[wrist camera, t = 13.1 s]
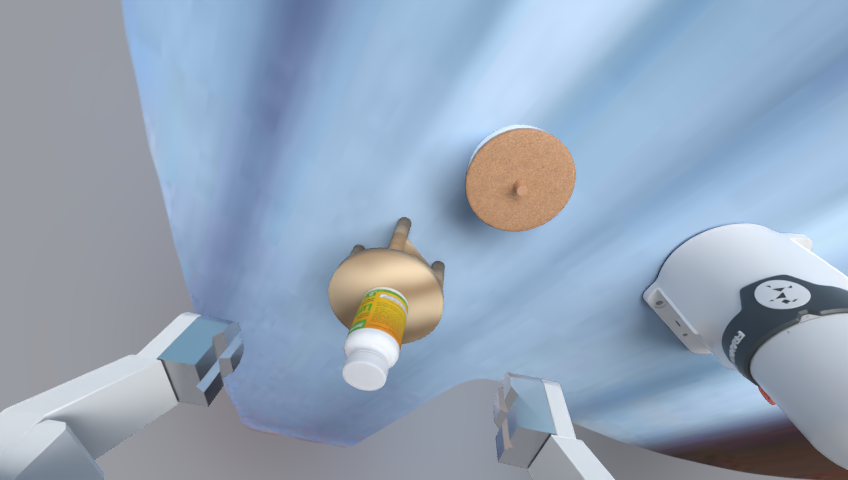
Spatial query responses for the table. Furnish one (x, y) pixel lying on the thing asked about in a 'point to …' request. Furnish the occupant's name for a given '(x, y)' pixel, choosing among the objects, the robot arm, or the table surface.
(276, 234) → the table surface
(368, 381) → the supplement bottle
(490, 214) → the lidded jar
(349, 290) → the stool
